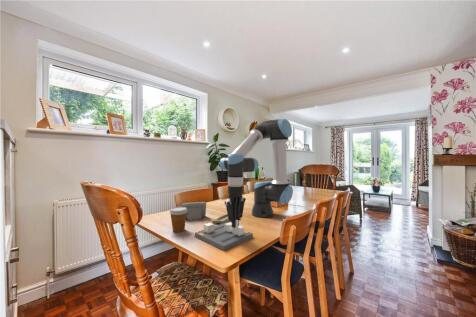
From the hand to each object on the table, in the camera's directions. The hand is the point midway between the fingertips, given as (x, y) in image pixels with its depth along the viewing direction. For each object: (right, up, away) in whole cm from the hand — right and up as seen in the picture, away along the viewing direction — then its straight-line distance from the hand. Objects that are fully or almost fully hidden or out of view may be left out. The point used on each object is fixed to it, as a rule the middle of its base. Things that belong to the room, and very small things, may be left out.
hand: (235, 233), depth 100 cm
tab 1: (-14, -1, +6) cm, 15 cm away
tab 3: (+2, -1, +2) cm, 3 cm away
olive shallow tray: (-7, -4, +29) cm, 30 cm away
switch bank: (-6, -3, +4) cm, 8 cm away
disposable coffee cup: (-32, -3, +13) cm, 35 cm away
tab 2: (-3, -1, +7) cm, 8 cm away
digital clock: (-28, -3, +35) cm, 45 cm away
